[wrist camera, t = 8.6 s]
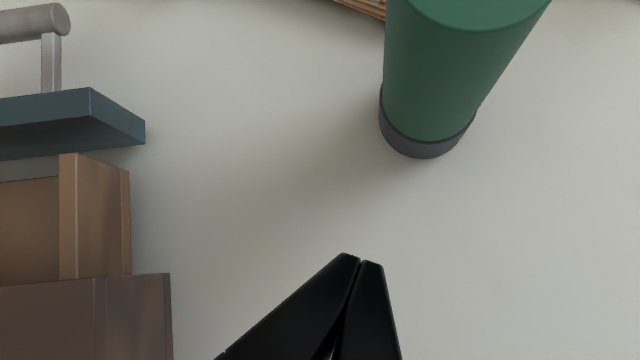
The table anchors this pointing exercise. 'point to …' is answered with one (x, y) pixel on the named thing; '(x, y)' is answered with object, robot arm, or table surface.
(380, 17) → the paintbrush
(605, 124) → the table surface
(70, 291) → the cabinet
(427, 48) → the green cylinder
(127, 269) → the drawer
